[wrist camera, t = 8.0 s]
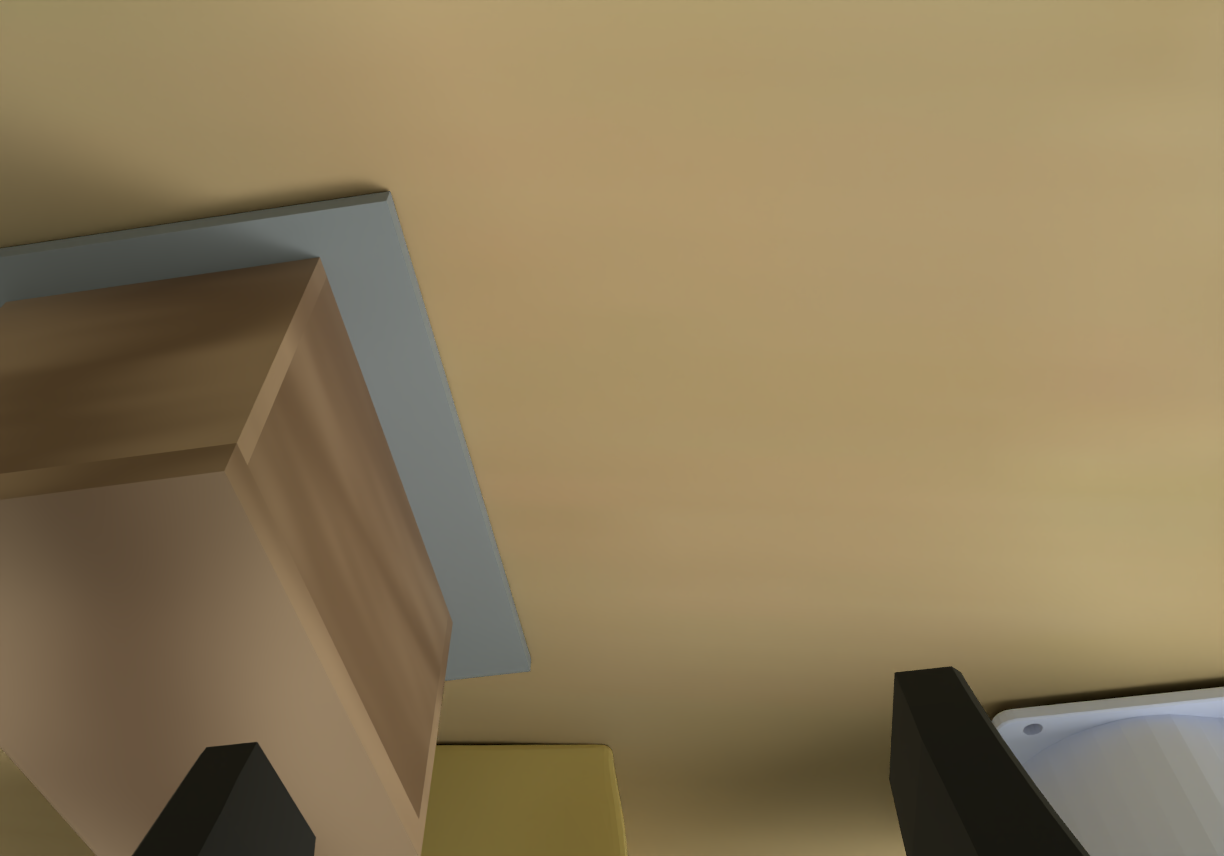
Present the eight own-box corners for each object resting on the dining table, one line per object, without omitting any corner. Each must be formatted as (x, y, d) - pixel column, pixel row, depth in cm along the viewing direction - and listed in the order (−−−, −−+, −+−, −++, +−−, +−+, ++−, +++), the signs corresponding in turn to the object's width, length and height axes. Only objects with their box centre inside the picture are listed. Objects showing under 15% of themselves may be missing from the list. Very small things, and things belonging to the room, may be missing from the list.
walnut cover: (319, 257, 18) (224, 470, 13) (452, 622, 24) (420, 859, 19) (5, 302, 18) (-198, 525, 14) (214, 650, 24) (125, 888, 20)
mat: (389, 191, 18) (386, 201, 17) (530, 658, 25) (530, 671, 25) (-86, 261, 18) (-98, 271, 18) (195, 696, 26) (190, 709, 26)
